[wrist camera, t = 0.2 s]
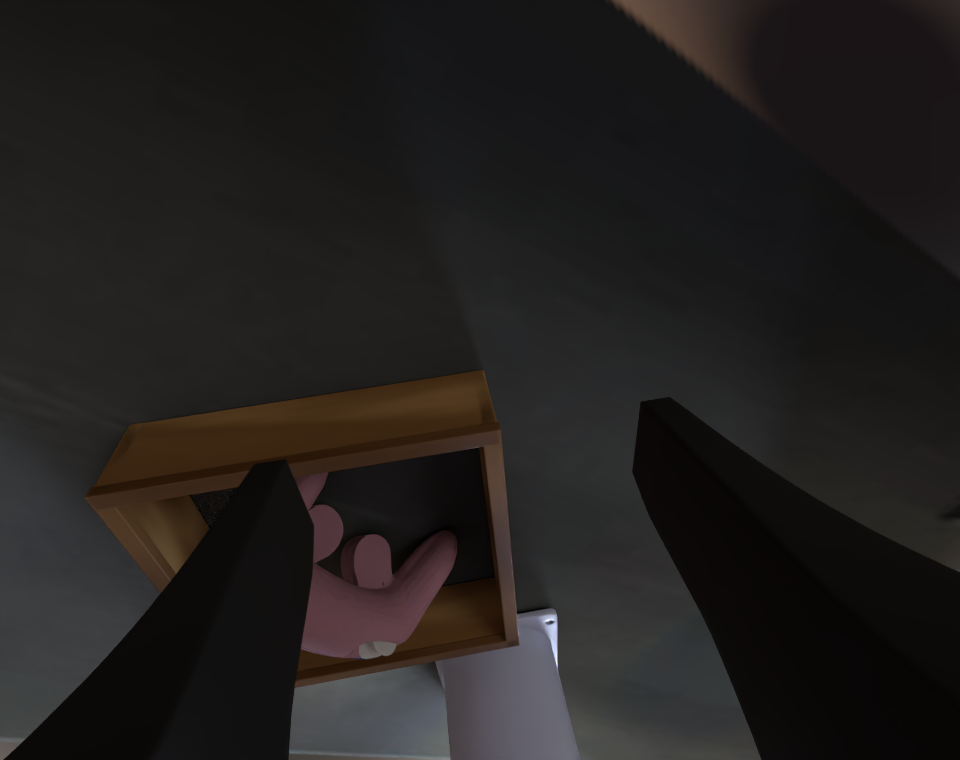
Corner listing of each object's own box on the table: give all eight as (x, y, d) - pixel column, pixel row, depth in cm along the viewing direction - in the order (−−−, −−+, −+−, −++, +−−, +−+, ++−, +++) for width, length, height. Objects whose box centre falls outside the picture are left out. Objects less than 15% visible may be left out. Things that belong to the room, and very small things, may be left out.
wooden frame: (506, 581, 31) (520, 645, 28) (257, 625, 30) (243, 698, 27) (484, 368, 22) (500, 429, 19) (127, 423, 21) (83, 498, 18)
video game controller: (263, 453, 25) (181, 608, 21) (319, 435, 22) (237, 610, 18) (410, 541, 30) (368, 679, 26) (470, 535, 27) (433, 689, 23)
